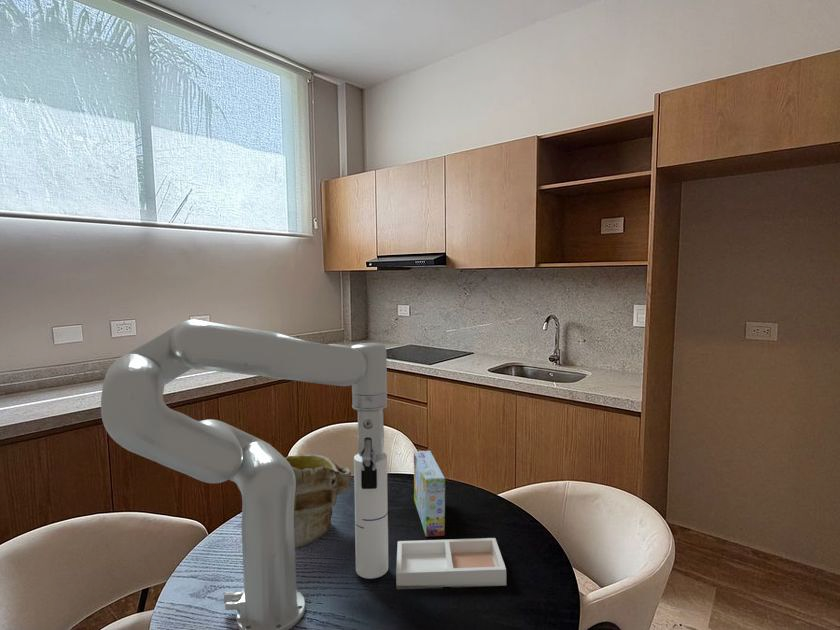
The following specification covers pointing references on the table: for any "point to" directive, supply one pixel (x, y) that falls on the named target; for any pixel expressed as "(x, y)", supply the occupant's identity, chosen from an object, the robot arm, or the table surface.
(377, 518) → the cylindrical container
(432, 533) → the snack box
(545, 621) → the table surface
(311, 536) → the ceramic vessel
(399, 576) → the two-bay tray
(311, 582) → the table surface
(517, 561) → the table surface
